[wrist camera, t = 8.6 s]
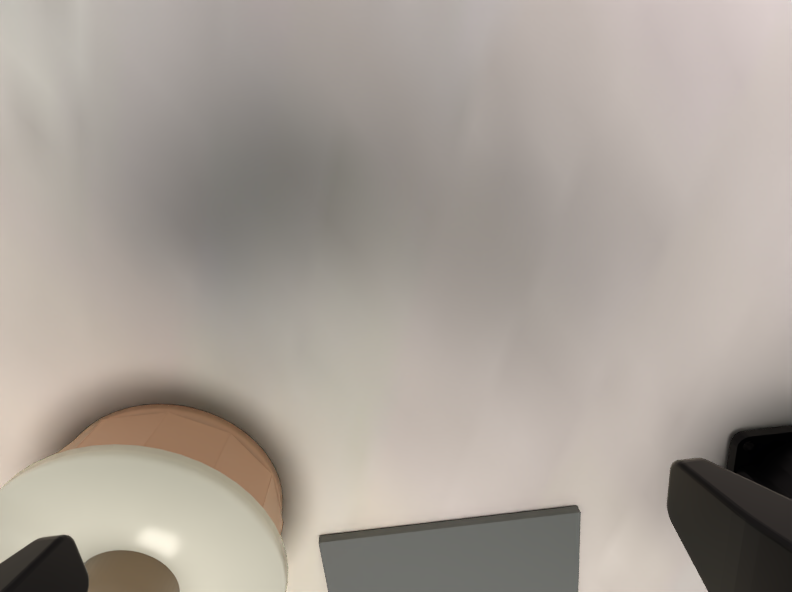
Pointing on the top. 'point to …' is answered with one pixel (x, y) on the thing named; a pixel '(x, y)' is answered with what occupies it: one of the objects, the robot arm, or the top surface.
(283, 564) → the lid
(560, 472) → the top surface
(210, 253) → the top surface
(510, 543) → the mat
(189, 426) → the bowl
